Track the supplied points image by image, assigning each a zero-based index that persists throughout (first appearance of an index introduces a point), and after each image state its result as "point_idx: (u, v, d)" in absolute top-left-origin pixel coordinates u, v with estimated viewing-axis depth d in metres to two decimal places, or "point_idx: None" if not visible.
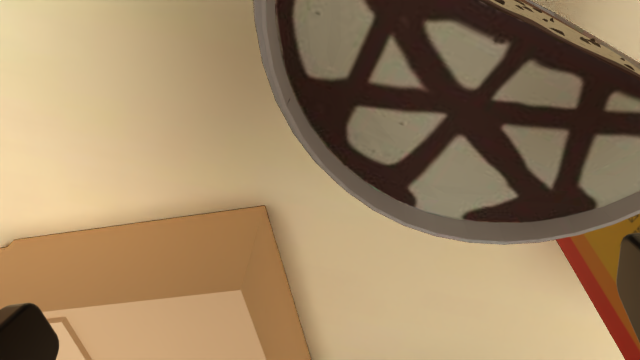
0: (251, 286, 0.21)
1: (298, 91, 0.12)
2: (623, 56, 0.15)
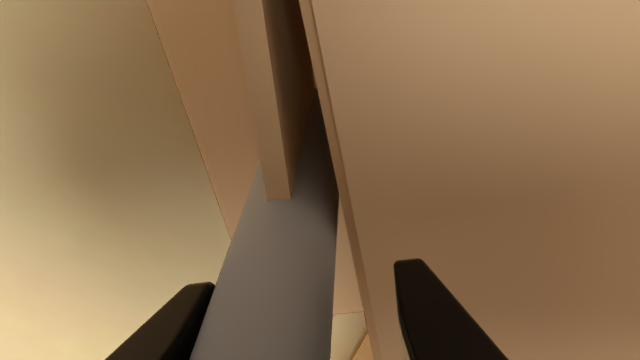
0: None
1: None
2: None
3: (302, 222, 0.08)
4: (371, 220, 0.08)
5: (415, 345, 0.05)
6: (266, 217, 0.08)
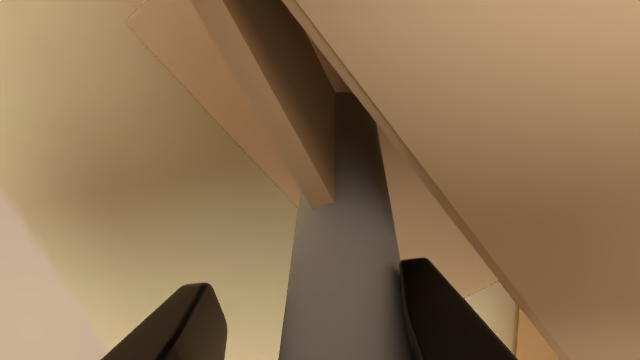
0: None
1: None
2: None
3: (350, 219, 0.08)
4: (449, 172, 0.08)
5: (423, 344, 0.05)
6: (315, 226, 0.08)
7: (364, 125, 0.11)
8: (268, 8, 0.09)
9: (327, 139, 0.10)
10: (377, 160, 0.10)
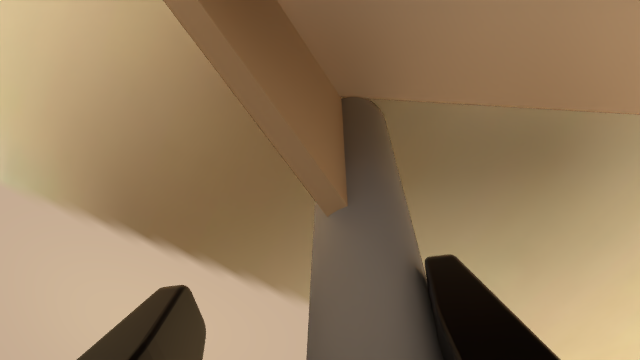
0: None
1: None
2: None
3: (365, 221, 0.08)
4: None
5: (458, 341, 0.05)
6: (330, 232, 0.08)
7: (373, 127, 0.11)
8: (263, 23, 0.09)
9: (336, 145, 0.10)
10: (388, 160, 0.10)
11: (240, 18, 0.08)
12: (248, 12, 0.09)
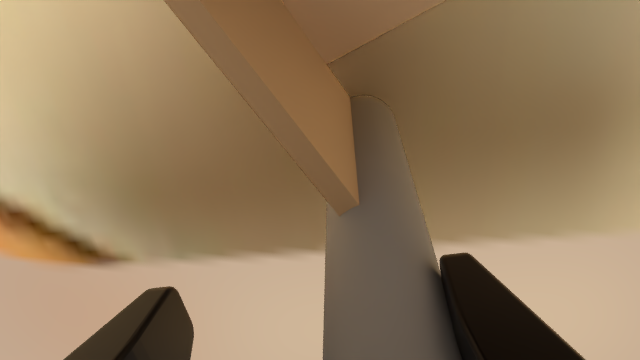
0: None
1: None
2: None
3: (377, 220, 0.08)
4: None
5: (478, 339, 0.05)
6: (343, 231, 0.08)
7: (382, 125, 0.11)
8: (269, 25, 0.09)
9: (346, 144, 0.10)
10: (399, 157, 0.10)
11: (246, 21, 0.08)
12: (254, 15, 0.09)
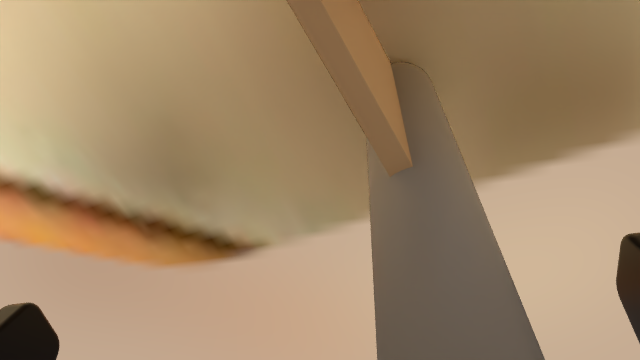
0: None
1: None
2: None
3: (434, 182, 0.07)
4: None
5: None
6: (396, 191, 0.07)
7: (427, 93, 0.11)
8: None
9: (395, 105, 0.09)
10: (447, 126, 0.10)
11: None
12: None
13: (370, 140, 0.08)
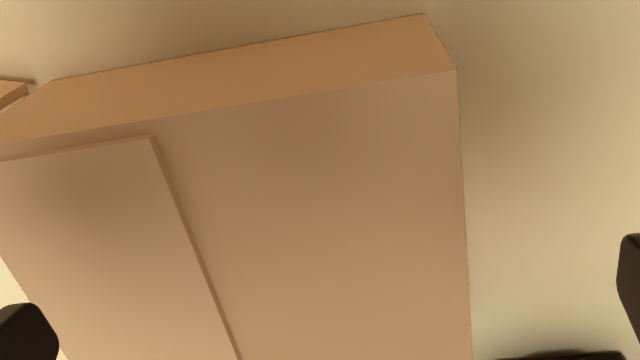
0: None
1: None
2: None
3: None
4: (40, 305, 0.16)
5: None
6: None
7: None
8: None
9: None
10: None
11: None
12: None
13: None
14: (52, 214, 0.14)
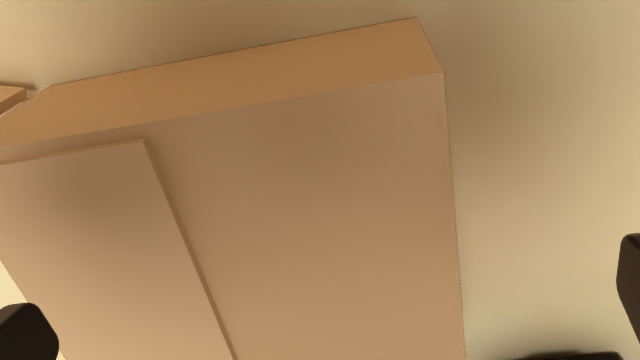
0: None
1: None
2: None
3: None
4: None
5: None
6: None
7: None
8: None
9: None
10: None
11: None
12: None
13: None
14: (49, 216, 0.14)
